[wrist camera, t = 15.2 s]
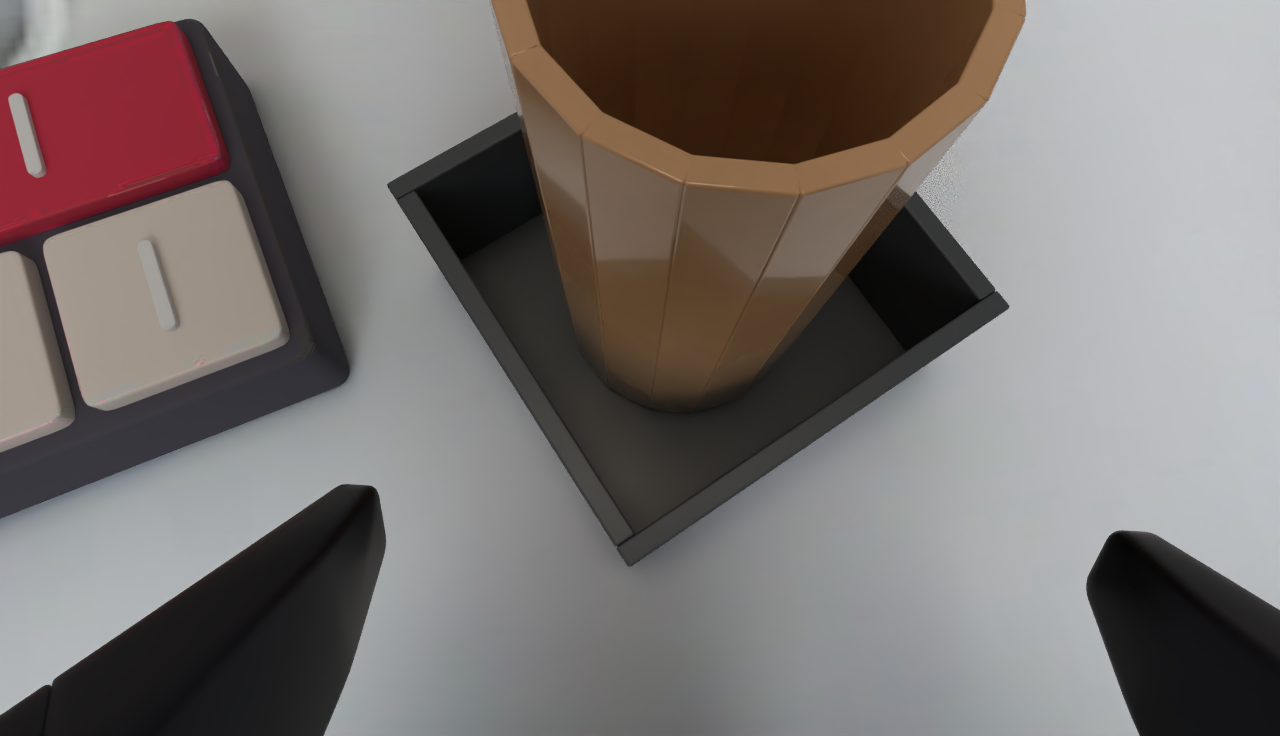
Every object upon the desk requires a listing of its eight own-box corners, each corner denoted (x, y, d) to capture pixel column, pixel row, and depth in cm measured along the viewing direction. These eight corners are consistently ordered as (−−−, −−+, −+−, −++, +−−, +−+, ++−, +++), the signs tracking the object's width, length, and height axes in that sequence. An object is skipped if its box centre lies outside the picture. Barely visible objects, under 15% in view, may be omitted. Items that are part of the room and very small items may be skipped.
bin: (924, 361, 21) (1011, 306, 17) (628, 563, 20) (628, 568, 15) (722, 100, 23) (746, -17, 19) (439, 264, 22) (385, 183, 17)
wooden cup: (832, 320, 21) (1137, -20, 9) (666, 459, 20) (735, 307, 7) (690, 167, 22) (773, -331, 10) (526, 292, 21) (377, -87, 9)
